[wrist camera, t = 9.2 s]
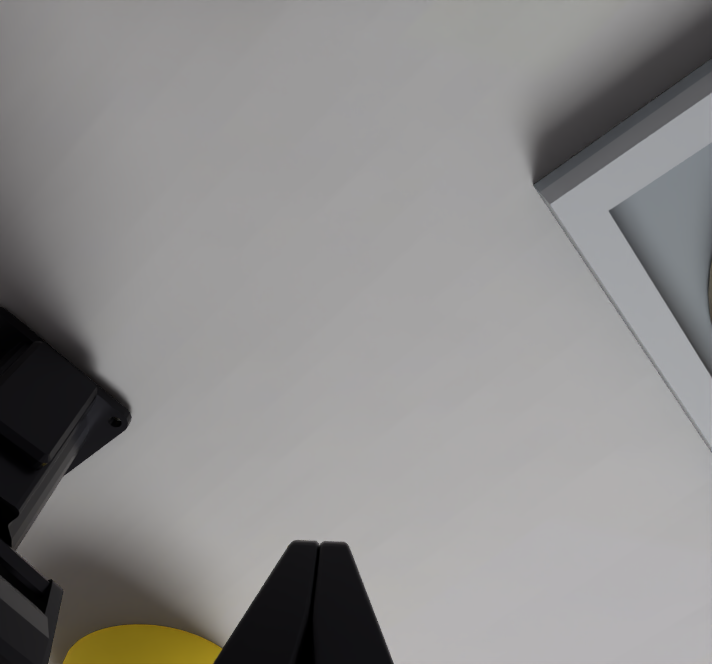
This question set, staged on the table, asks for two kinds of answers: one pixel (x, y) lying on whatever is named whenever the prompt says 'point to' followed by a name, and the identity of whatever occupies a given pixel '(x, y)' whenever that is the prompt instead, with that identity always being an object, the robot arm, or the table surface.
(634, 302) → the bezel plate
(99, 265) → the table surface
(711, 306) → the beige disc with bar
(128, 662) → the tape roll
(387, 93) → the table surface
